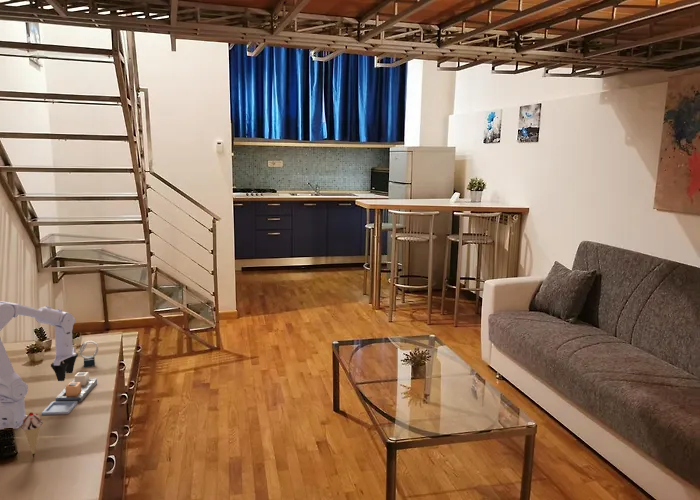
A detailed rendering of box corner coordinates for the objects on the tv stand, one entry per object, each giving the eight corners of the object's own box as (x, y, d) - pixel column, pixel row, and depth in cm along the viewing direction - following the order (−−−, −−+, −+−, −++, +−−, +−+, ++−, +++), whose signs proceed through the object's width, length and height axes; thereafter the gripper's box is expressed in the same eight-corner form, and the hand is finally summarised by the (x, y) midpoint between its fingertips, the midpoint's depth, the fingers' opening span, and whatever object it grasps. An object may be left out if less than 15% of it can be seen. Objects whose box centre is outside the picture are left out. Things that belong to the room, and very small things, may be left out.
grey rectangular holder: (81, 403, 199) (81, 396, 199) (55, 403, 198) (55, 397, 197) (97, 383, 217) (97, 378, 216) (74, 384, 215) (73, 378, 215)
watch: (79, 363, 237) (78, 340, 236) (98, 361, 241) (98, 338, 239) (79, 367, 232) (78, 344, 231) (99, 365, 236) (98, 342, 234)
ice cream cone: (40, 450, 166) (37, 406, 163) (47, 457, 162) (45, 412, 160) (20, 457, 161) (17, 412, 159) (27, 465, 158) (24, 418, 156)
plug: (77, 401, 201) (76, 385, 200) (66, 401, 200) (65, 386, 199) (81, 396, 205) (80, 381, 204) (70, 396, 204) (69, 381, 203)
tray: (68, 414, 190) (68, 411, 189) (41, 415, 188) (41, 412, 188) (77, 403, 198) (77, 400, 198) (52, 404, 197) (52, 401, 197)
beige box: (85, 390, 210) (84, 375, 209) (75, 390, 210) (74, 375, 209) (89, 385, 214) (88, 371, 213) (78, 386, 214) (78, 371, 213)
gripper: (67, 349, 191) (68, 384, 193) (82, 336, 206) (83, 369, 208) (46, 349, 190) (48, 384, 192) (63, 336, 205) (64, 369, 207)
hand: (65, 376), depth 200 cm, fingers open, 7 cm apart
